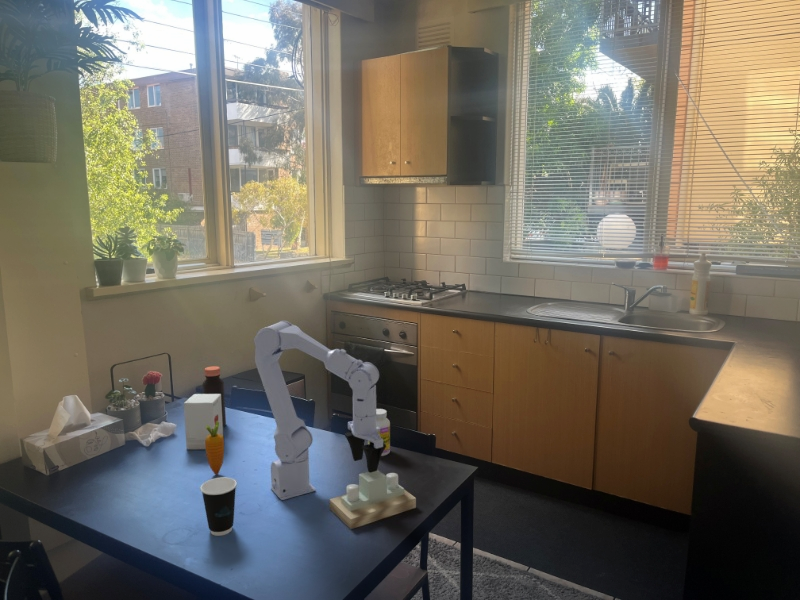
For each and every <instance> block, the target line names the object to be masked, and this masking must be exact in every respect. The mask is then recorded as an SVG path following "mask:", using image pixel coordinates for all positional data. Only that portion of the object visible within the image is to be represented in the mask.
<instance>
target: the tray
mask: <svg viewBox="0 0 800 600" xmlns="http://www.w3.org/2000/svg"><path fill="white" fill-rule="evenodd" d="M404 490H405V488H404V487H403V486H401V485H400V484H399V474H398V473H395V472H389V473H386V475H385V474H384V473H382V472H381V470H378V469H377V471H374V472H371V473H370V472H368V471H366V472H362V473H359V474H358V484H353V483H352V484H347V486H346V494H347V495H346V494H345V495H346V496H343V497H341V503H342V504H343V505H344V506H345V507H346V508H347V509H348V510H350V511H353V510H356V509H360V508H363V507H366V506H369V505H372V504H375V503H379V502H382V501H385V500H388V499H391V498H394V497H398V496H401V495H404Z"/></svg>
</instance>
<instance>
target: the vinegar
mask: <svg viewBox="0 0 800 600" xmlns="http://www.w3.org/2000/svg"><path fill="white" fill-rule="evenodd" d="M220 376H221V367H220V366H217V365H215V366H207V367H205V368H204V377H205V380H204V381H203V382H202V394H221V405H222V423H223V427H225V426H226V424H227V418H226V401H225V385H224V384H225V382H224V380H223V379H221V378H220Z"/></svg>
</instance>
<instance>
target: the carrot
mask: <svg viewBox="0 0 800 600" xmlns="http://www.w3.org/2000/svg"><path fill="white" fill-rule="evenodd" d="M218 426H219V422H218V421H216V425H215V428H214V430H213V428H212V431H211V429H210V427H209V426H208V425H207V426H206V429H207V430H208V431H209V433H210V434H211V435H209V436H207V438H206V440H205V446H206V449H205V452H206V458H207V462H208V465H209V467H210V469H211V471H212V472H213V474H215V475H216V476H217V475H219V473H220V470H221V468H222V466H223V462H224V454H225V438H224V435H223V436H222V435H220V434H217V431H218Z"/></svg>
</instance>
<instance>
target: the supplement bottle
mask: <svg viewBox="0 0 800 600" xmlns="http://www.w3.org/2000/svg"><path fill="white" fill-rule="evenodd" d="M387 412H388V411H387V410H386V409H383V408H376V426H378V427H379V428H380V431H378V433H379V435H380V437H381V438H382V439H383V443H384V444H386V448H385V449H384V451H383V453H382V455H381V457H385V456H387V455H388V454H390V452H391V422H390V420H389V419H388V418H387V415H388V414H387ZM368 444H370V442H369V441H367V445H368Z"/></svg>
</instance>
